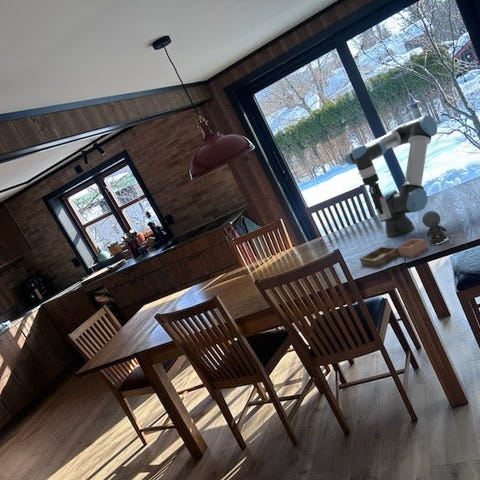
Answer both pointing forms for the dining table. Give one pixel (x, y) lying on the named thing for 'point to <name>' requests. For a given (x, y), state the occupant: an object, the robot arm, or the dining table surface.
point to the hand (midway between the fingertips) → (385, 217)
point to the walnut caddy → (380, 256)
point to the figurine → (434, 227)
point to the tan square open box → (412, 248)
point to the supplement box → (386, 209)
